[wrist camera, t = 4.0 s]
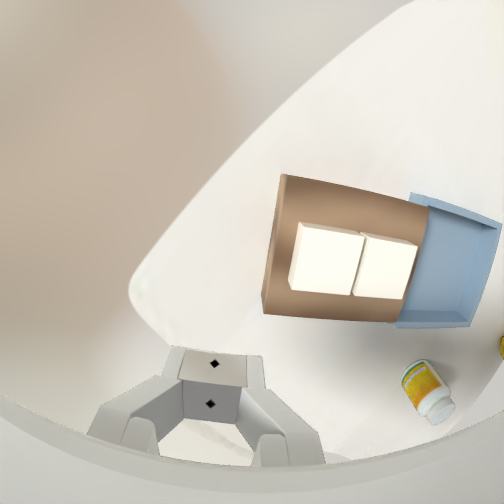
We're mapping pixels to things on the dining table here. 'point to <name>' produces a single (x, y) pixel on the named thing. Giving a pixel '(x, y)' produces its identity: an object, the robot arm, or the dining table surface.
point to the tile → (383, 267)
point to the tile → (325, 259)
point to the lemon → (502, 347)
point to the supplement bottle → (427, 391)
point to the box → (449, 267)
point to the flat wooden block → (340, 216)
